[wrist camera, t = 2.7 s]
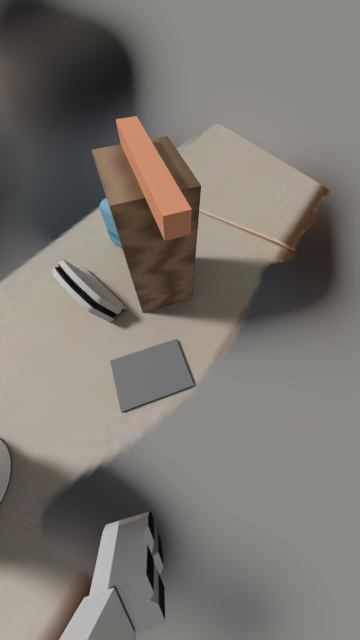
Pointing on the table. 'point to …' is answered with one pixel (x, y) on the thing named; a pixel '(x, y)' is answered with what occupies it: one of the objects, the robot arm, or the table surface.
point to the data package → (109, 222)
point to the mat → (150, 375)
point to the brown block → (151, 226)
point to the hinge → (88, 290)
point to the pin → (155, 180)
